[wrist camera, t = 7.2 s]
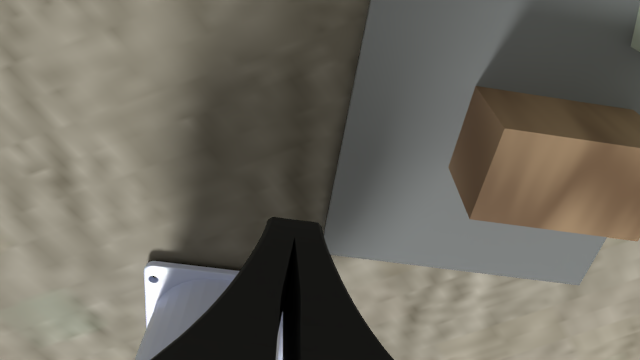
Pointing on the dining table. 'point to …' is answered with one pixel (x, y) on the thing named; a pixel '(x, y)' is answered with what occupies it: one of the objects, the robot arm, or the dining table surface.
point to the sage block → (636, 34)
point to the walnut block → (549, 164)
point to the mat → (447, 119)
